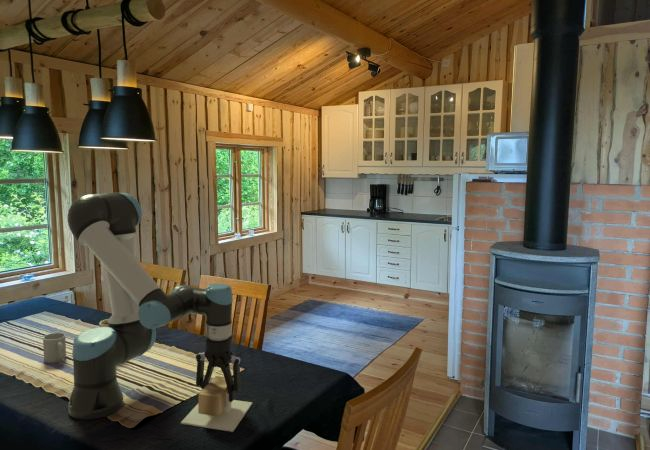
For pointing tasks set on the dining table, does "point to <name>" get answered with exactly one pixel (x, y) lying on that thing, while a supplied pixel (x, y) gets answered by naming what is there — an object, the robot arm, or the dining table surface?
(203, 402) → the oak block
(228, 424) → the cream square board
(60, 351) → the cup
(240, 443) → the dining table surface
